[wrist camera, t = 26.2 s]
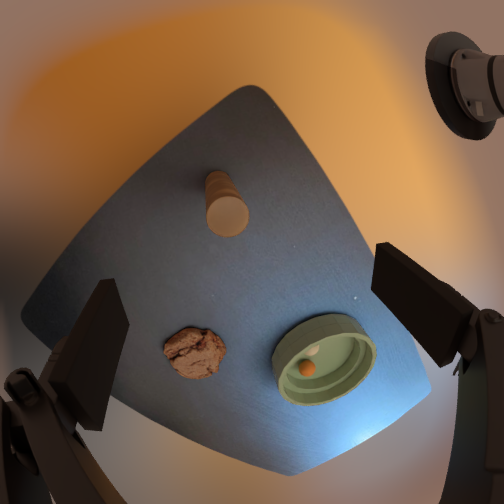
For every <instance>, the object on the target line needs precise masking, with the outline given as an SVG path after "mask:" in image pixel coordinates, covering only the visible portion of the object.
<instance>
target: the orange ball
mask: <svg viewBox="0 0 504 504" xmlns="http://www.w3.org/2000/svg"><path fill="white" fill-rule="evenodd" d="M315 369H316V367H315V364H314V363H313V362H312V361H310V360H305V361H303V362H302V363H301V364H300V365H299V372H300V374H301V375H302V376H305V377H308V376H311V375H313V374H314V372H315Z"/></svg>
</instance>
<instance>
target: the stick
mask: <svg viewBox="0 0 504 504" xmlns="http://www.w3.org/2000/svg"><path fill="white" fill-rule="evenodd" d="M205 195H206V220H207V224H208V226H209V228H210V229H211V231H212V232H214V233H215V234H217V235H219V236H221V237H233V236H236V235H238V234H240V233H241V232H242V231H243V230H244V229H245V228H246V226H247V224H248V222H249V210H248V208H247V206H246V204H245V202H244V201H243V199H242V197H241V196H240V194H239V192H238V190H237V189H236V187H235V185H234V184H233V182H232V180H231V179H230V177H229V176H228V174H226V173H225V172H223V171H214V172H212V173H210V174H209V175H208V176H207V178H206V181H205Z"/></svg>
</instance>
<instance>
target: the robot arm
mask: <svg viewBox="0 0 504 504" xmlns="http://www.w3.org/2000/svg"><path fill="white" fill-rule="evenodd" d="M448 78H449V84H450V88H451V91H452V94H453V97H454V99H455V102H456V104H457V105H458V107H459V109H460V110H461V112H462V113H463V114H464V115H465V116H466V117H467V118H468V119H470V120H471V121H474V122H488V121H491V120H495V119H498V118H501V117H504V55H495V56H491V55H488V54H485V53H482V52H478V51H475V50H471V49H459V50H456V51H454V52H453V53H452V55H451V56H450V59H449V63H448ZM371 290H372V291H373V292H374V293H375V295H376V296H377V297H378V298H379V299H380V300H381V301H382V302H383V303H384V304H385V305H386V306H387V308H388V309H389V310H390V311H391V312H392V313H393V314H394V315H395V316H396V318H397V319H398V320H399V321H400V322H401V323H402V324H403V325H404V326H405V328H406V329H407V330H408V331H409V332H410V333H411V334H412V336H413V337H414V338H415V339H416V340H417V341H418V343H419V344H420V345H421V346H422V347H423V348H424V350H425V351H426V352H427V353H428V354H429V355H430V357H431V358H432V359H433V360H434V361H435V363H436V364H437V365H438V366H439V367H440V368H441V367H443V366H446V365H448V364H450V363H451V362H452V361H453V359H454V357H455V355H456V353H457V351H458V352H459V353H460V354H461V358H460V360H459V362H458V364H457V366H456V368H455V370H454V372H453V375H455V374H456V372H457V371H458V370H459V374H458V376H459V379H458V399H457V413H456V422H455V430H454V439H453V445H452V451H451V457H450V462H449V467H448V472H447V476H446V481H445V485H444V489H443V492H442V496H441V500H440V502H439V504H504V317H503V316H502V315H501V314H499V313H498V312H497V311H495V310H492V309H483V310H481V311H480V310H479V309H478V308H477V307H476V306H475V305H473V304H472V303H471V302H470V301H469V300H467V299H466V298H465V297H464V296H461V294H460V293H459V292H458V291H455V289H454V288H453V287H451V286H450V285H449V284H447V283H445V282H442V281H440V280H438V279H437V278H436V277H435V276H433V275H432V274H431V273H429V272H428V271H427V270H425V269H424V268H423V267H421V266H420V265H419V264H417V263H416V262H415V261H413V260H412V259H411V258H409V257H408V256H407V255H405V254H404V253H403V252H401V251H400V250H398V249H397V248H396V247H394V246H393V245H391V244H390V243H389V242H385V243H378V244H376V252H375V261H374V269H373V277H372V284H371ZM129 325H130V324H129V322H128V319H127V316H126V313H125V310H124V307H123V304H122V302H121V299H120V296H119V292H118V289H117V286H116V283H115V280H114V278H113V279H104V280H100V281H99V283H98V285H97V286H96V288H95V290H94V291H93V293H92V295H91V296H90V298H89V300H88V302H87V303H86V305H85V307H84V309H83V310H82V312H81V314H80V316H79V318H78V320H77V321H76V323H75V325H74V327H73V329H72V331H71V333H70V335H69V336H64V337H63V338H62V339H61V340H60V341H59V342H58V343H57V344H56V345H55V347H54V349H53V351H52V355H50V357H49V359H48V362H47V363H46V365H45V367H44V369H43V371H42V373H41V375H40V377H39V379H38V380H37V379H36V378H35V376H34V374H33V373H32V372H31V370H30V369H28V368H19V369H16V370H15V371H13V372H12V373H10V375H9V376H8V377H7V378H6V381H5V383H4V389H5V390H6V392H7V393H8V394H9V396H10V397H11V398H12V399H13V401H9V402H5V401H4V400H3V399H2V397H1V396H0V504H53V503H52V499H51V496H50V493H51V495H52V497H53V499H54V501H55V502H56V504H127V503H126V501H125V500H124V499H123V498H122V497H121V495H120V494H119V493H118V491H117V490H116V489H115V488H114V486H113V485H112V483H111V482H110V481H109V479H108V478H107V476H106V475H105V474H104V472H103V471H102V469H101V468H100V466H99V465H98V463H97V462H96V460H95V459H94V457H93V456H92V454H91V452H90V451H89V449H88V448H87V446H86V444H85V443H84V441H83V439H82V438H81V436H80V434H79V433H78V432H77V431H76V429H75V427H76V424H77V421H78V422H79V424H80V425H81V426H82V427H83V428H84V429H85V430H94V431H102V428H103V423H104V418H105V414H106V410H107V405H108V401H109V397H110V393H111V389H112V385H113V381H114V377H115V373H116V369H117V366H118V362H119V359H120V355H121V352H122V348H123V345H124V341H125V338H126V335H127V331H128V328H129ZM49 491H50V493H49Z"/></svg>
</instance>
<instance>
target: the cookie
mask: <svg viewBox="0 0 504 504" xmlns="http://www.w3.org/2000/svg"><path fill="white" fill-rule="evenodd" d="M225 353H226V347H225V344H224V343H223V342H222V340H221V339H220V338H219V336H217V335H215V333H214V334H213V332H211V331H210V330H206V331H205V330H204V331H203V330H200V329H198V328H186V329H183V330H182V331H180V332H179V333H177V334H175V335H174V336H173V337H172V338H170V339H169V340H168V341H167V343H166V344H165V349H164V354H166V355H167V357H168V359H170V363H171V365H172V366H173V367H174V368H175V370H176V371H177V373H179V374H180V375H181V376H183V377H186V378H191V379H201V378H205V377H209V376H211V375H212V372H215V373H217V372H218V370H219V365H218V364H219V363H220V362H221V361H222V359H223V356H224V355H225Z"/></svg>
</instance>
